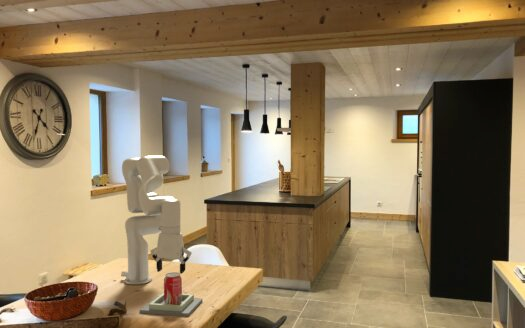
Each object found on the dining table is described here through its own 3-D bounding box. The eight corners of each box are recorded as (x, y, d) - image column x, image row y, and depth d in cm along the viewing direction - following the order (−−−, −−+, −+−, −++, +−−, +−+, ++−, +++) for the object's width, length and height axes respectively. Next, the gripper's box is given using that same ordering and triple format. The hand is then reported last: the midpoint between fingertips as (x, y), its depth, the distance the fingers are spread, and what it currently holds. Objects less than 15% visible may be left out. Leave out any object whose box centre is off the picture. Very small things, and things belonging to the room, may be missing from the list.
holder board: (139, 313, 160) (139, 304, 160) (157, 298, 176) (157, 291, 176) (188, 316, 156) (188, 308, 156) (202, 301, 172) (202, 293, 172)
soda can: (165, 301, 169) (164, 272, 169) (182, 300, 170) (182, 271, 170) (163, 307, 162) (162, 277, 162) (181, 306, 163) (180, 276, 163)
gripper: (146, 230, 163) (146, 273, 164) (187, 233, 160) (187, 276, 161) (155, 226, 171) (155, 267, 172) (194, 229, 167) (194, 270, 168)
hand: (170, 271), depth 166 cm, fingers open, 9 cm apart
